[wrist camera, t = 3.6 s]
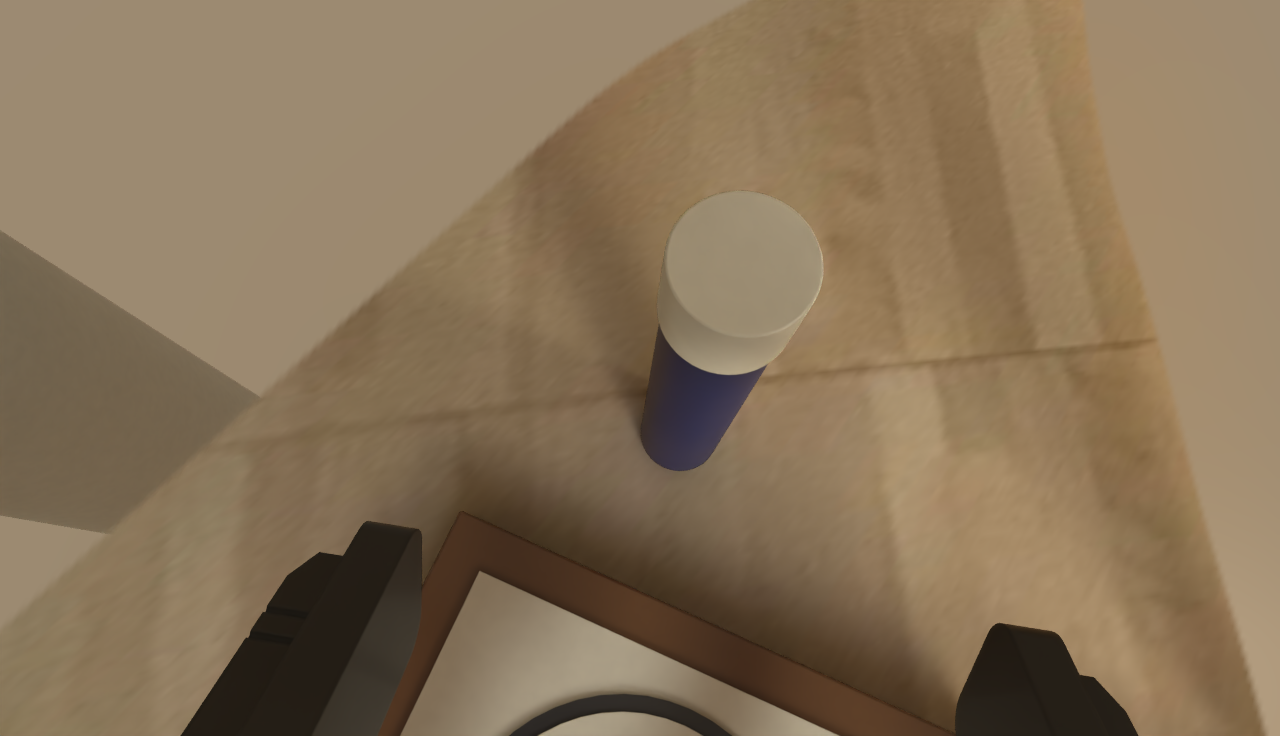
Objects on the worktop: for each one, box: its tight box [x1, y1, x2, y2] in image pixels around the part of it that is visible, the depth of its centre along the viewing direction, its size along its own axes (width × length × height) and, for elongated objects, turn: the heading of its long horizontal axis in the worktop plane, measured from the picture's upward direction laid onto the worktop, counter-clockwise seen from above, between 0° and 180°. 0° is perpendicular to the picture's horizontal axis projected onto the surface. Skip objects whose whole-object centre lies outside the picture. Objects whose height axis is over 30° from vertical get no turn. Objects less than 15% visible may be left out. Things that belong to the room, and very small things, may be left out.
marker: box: [641, 191, 823, 471], centre depth 18 cm, size 2×2×12 cm
